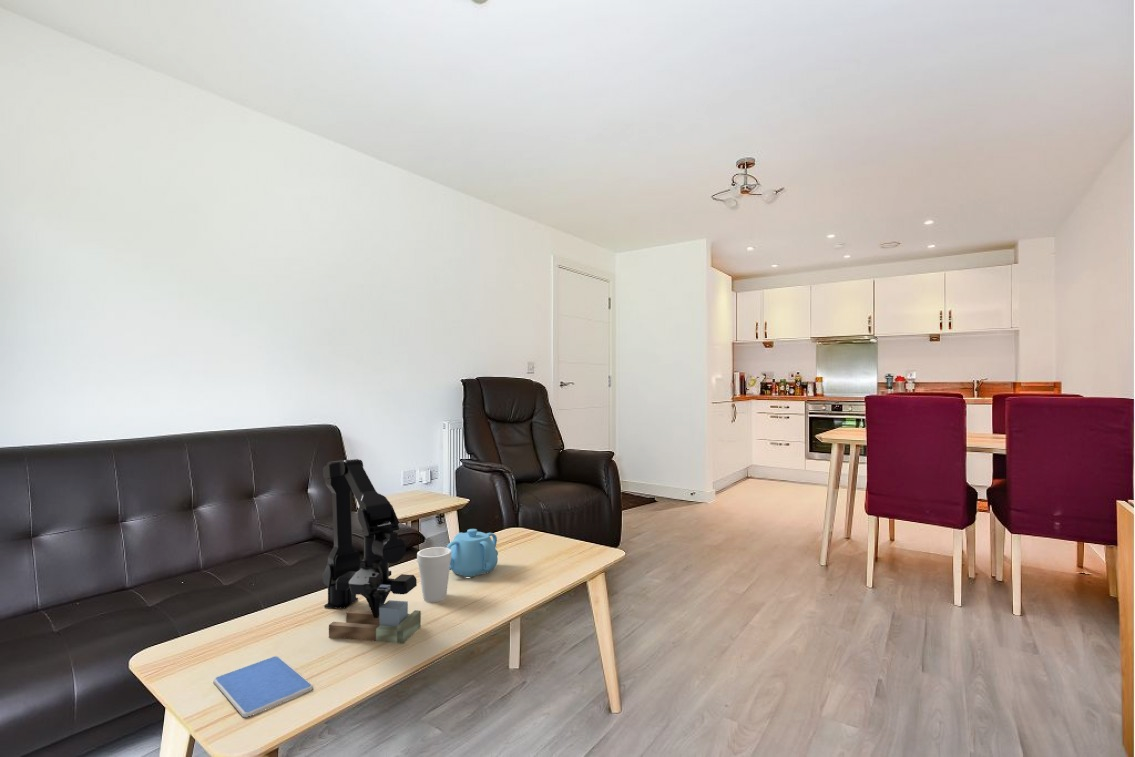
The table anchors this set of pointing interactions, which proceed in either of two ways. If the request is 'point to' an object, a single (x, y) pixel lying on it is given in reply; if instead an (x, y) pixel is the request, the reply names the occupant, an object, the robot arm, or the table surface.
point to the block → (393, 613)
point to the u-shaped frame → (374, 627)
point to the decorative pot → (473, 553)
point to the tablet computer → (262, 685)
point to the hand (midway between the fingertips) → (376, 617)
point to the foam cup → (434, 572)
